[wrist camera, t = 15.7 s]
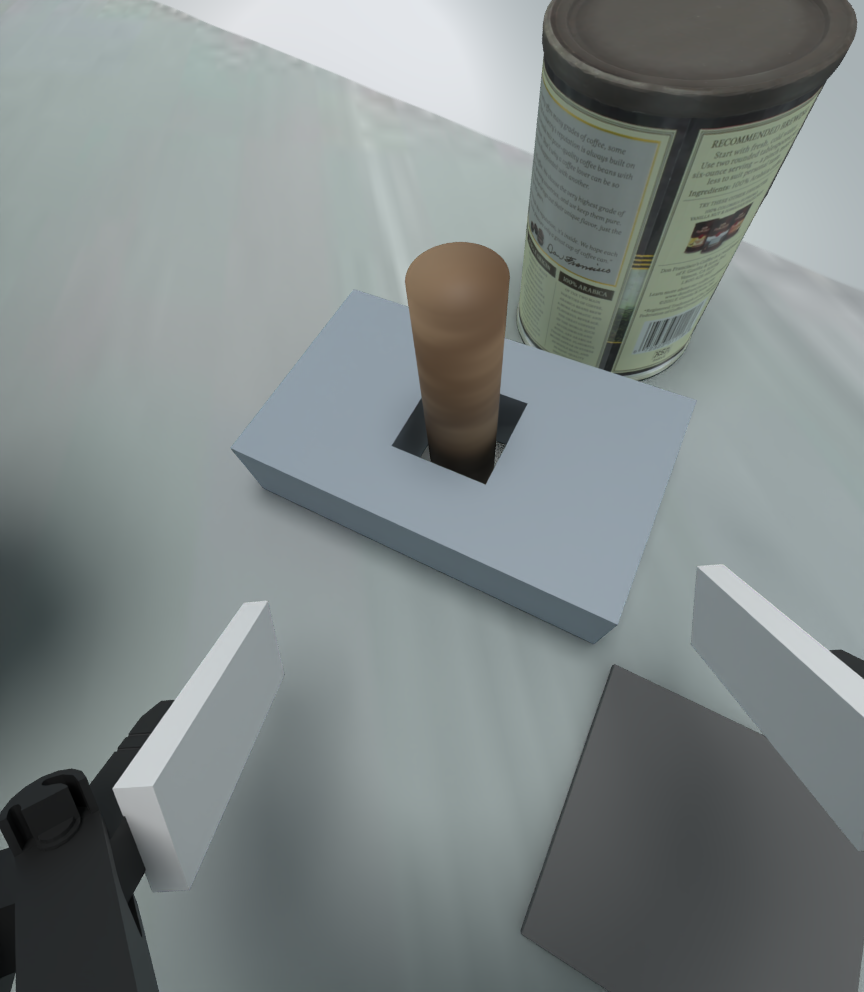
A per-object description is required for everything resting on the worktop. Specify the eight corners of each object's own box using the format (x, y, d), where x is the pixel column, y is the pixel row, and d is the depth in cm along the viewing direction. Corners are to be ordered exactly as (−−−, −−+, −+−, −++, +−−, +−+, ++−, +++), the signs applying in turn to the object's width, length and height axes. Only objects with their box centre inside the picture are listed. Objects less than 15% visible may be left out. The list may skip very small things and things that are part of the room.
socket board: (263, 488, 26) (230, 448, 23) (367, 342, 30) (353, 289, 27) (593, 644, 22) (617, 624, 18) (665, 447, 26) (697, 400, 22)
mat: (520, 930, 18) (521, 934, 17) (612, 665, 21) (614, 664, 21) (830, 1131, 15) (839, 1141, 15) (874, 791, 19) (882, 792, 18)
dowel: (421, 481, 26) (386, 297, 15) (449, 434, 27) (434, 231, 16) (477, 505, 25) (482, 328, 14) (503, 456, 26) (526, 257, 15)
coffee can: (576, 237, 33) (640, -71, 21) (723, 305, 30) (909, -17, 17) (479, 330, 30) (485, 35, 18) (630, 417, 27) (772, 127, 14)
